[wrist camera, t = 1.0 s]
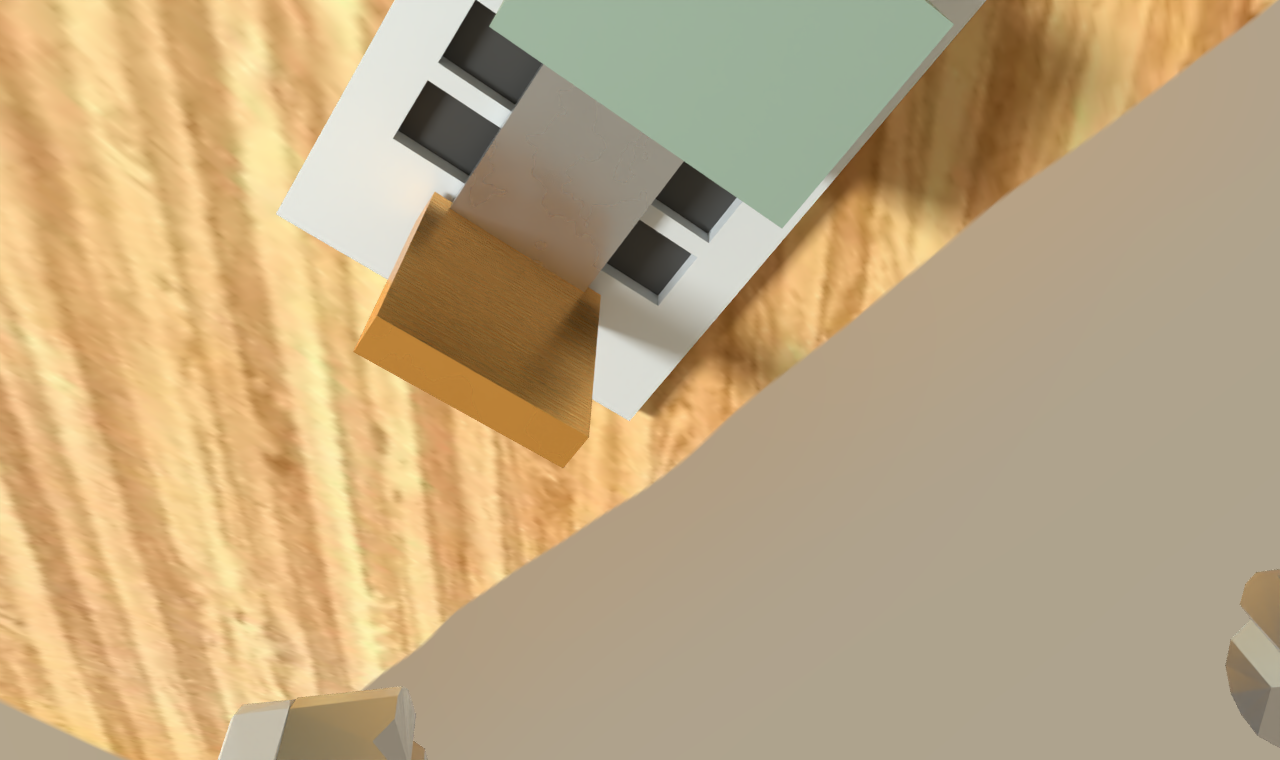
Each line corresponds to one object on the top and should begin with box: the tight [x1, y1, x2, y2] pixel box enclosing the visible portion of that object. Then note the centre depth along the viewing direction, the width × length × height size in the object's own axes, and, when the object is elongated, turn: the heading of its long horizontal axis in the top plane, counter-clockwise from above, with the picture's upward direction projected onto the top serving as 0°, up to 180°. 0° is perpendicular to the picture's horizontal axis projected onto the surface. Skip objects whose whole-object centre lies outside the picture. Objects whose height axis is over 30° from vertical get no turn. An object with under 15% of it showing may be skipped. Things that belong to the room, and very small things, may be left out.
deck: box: [276, 0, 986, 421], centre depth 49 cm, size 38×22×2 cm, turn 145°
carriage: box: [354, 63, 684, 468], centre depth 42 cm, size 29×10×13 cm, turn 145°
